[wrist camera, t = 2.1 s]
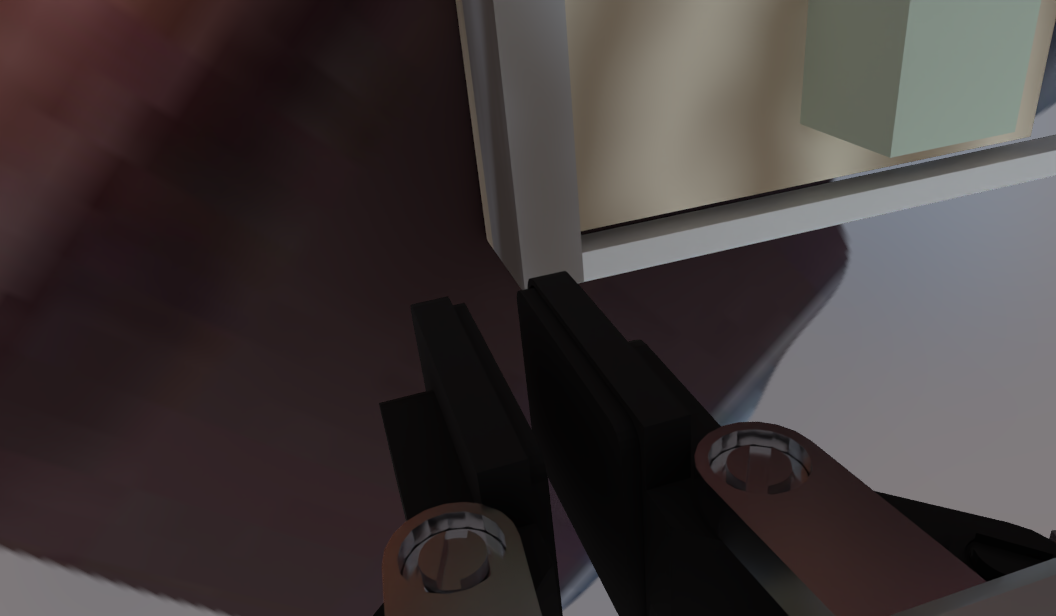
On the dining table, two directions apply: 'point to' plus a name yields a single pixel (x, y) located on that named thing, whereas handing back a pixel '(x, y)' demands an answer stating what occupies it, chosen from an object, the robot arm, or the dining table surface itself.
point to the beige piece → (648, 114)
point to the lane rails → (813, 208)
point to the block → (915, 70)
